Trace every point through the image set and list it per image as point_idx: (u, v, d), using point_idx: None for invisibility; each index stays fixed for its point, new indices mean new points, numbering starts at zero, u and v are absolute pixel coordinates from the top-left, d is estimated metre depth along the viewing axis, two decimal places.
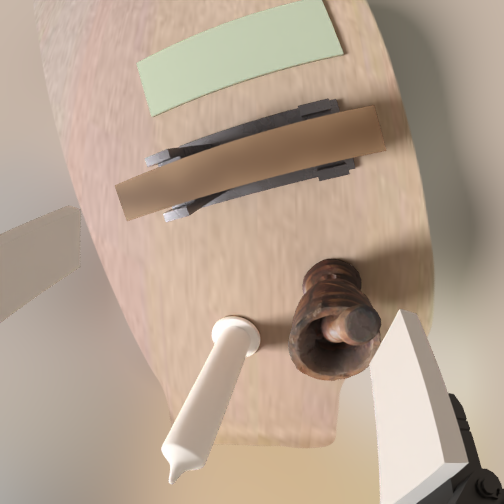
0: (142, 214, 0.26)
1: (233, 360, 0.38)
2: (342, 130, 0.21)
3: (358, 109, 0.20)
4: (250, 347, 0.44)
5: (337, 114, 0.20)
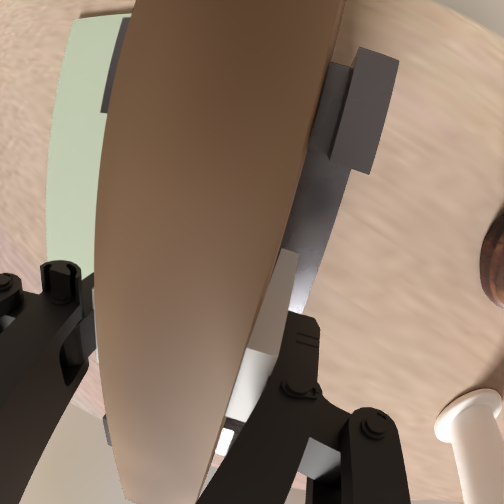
0: None
1: (492, 462, 0.14)
2: None
3: None
4: (493, 408, 0.20)
5: None
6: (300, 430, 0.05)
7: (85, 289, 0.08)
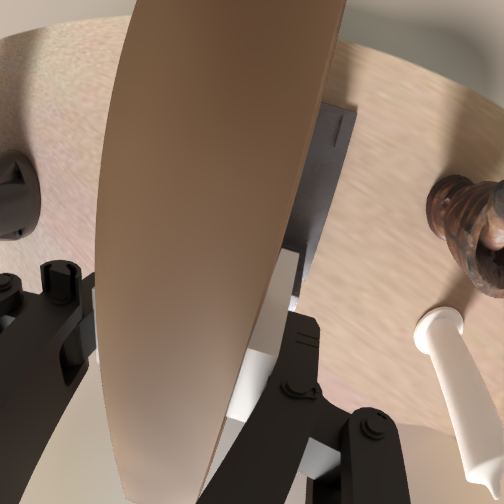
0: None
1: (455, 350, 0.28)
2: None
3: None
4: (456, 324, 0.33)
5: None
6: (300, 430, 0.05)
7: (85, 289, 0.08)
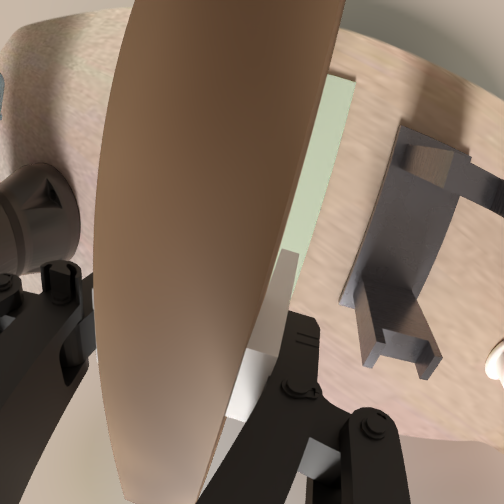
0: None
1: None
2: None
3: None
4: None
5: None
6: (300, 430, 0.05)
7: (85, 289, 0.08)
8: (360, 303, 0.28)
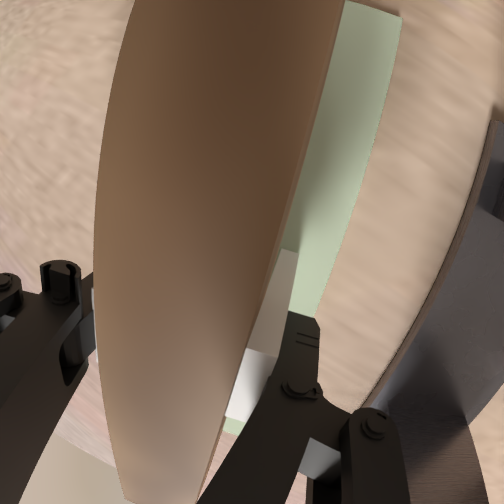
0: None
1: None
2: None
3: None
4: None
5: None
6: (300, 430, 0.05)
7: (85, 289, 0.08)
8: None
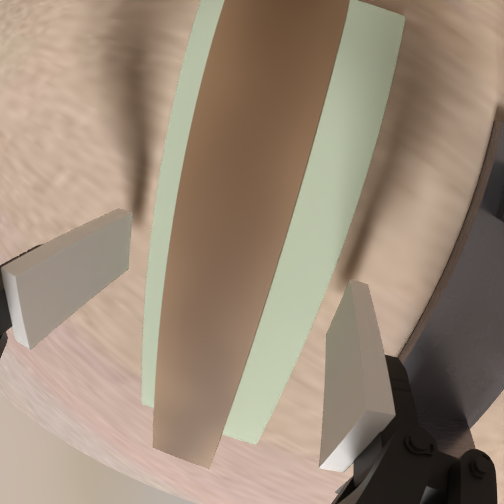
0: (211, 454, 0.14)
1: None
2: (260, 43, 0.07)
3: None
4: None
5: (217, 37, 0.07)
6: (417, 486, 0.04)
7: None
8: None
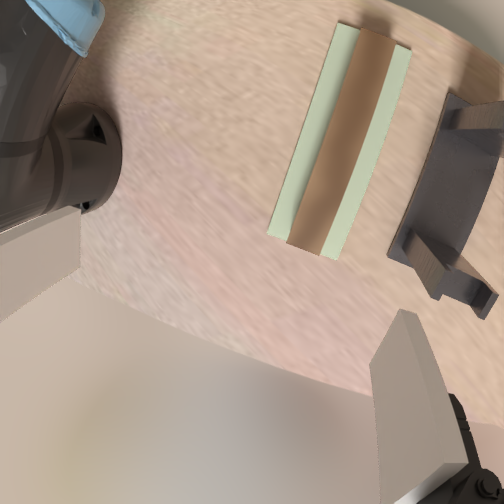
0: (325, 238, 0.29)
1: None
2: (368, 57, 0.23)
3: (359, 38, 0.22)
4: None
5: (355, 52, 0.23)
6: None
7: None
8: (415, 249, 0.27)
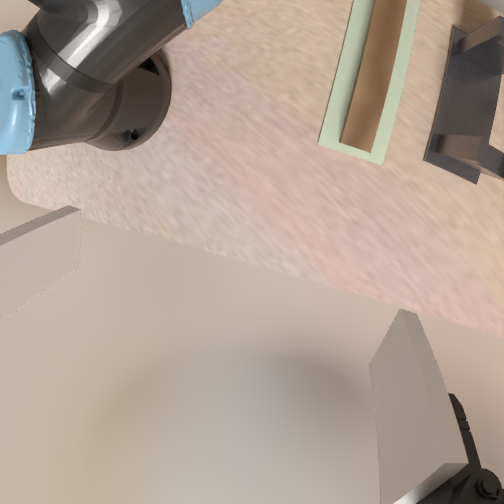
0: (374, 136, 0.30)
1: None
2: None
3: None
4: None
5: None
6: None
7: None
8: (449, 144, 0.28)
